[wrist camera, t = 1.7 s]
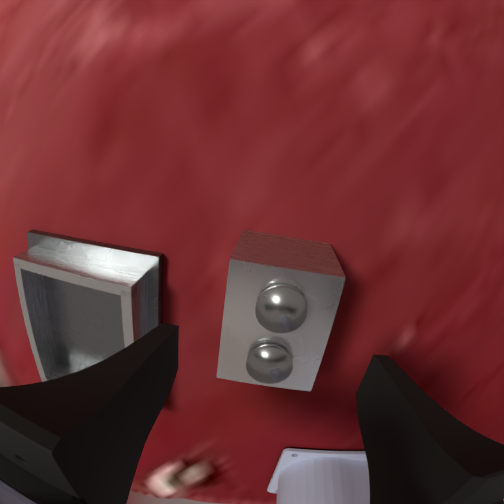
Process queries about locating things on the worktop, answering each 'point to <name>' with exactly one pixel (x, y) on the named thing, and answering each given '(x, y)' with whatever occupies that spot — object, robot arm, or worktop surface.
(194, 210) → the worktop surface
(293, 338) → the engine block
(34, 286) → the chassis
